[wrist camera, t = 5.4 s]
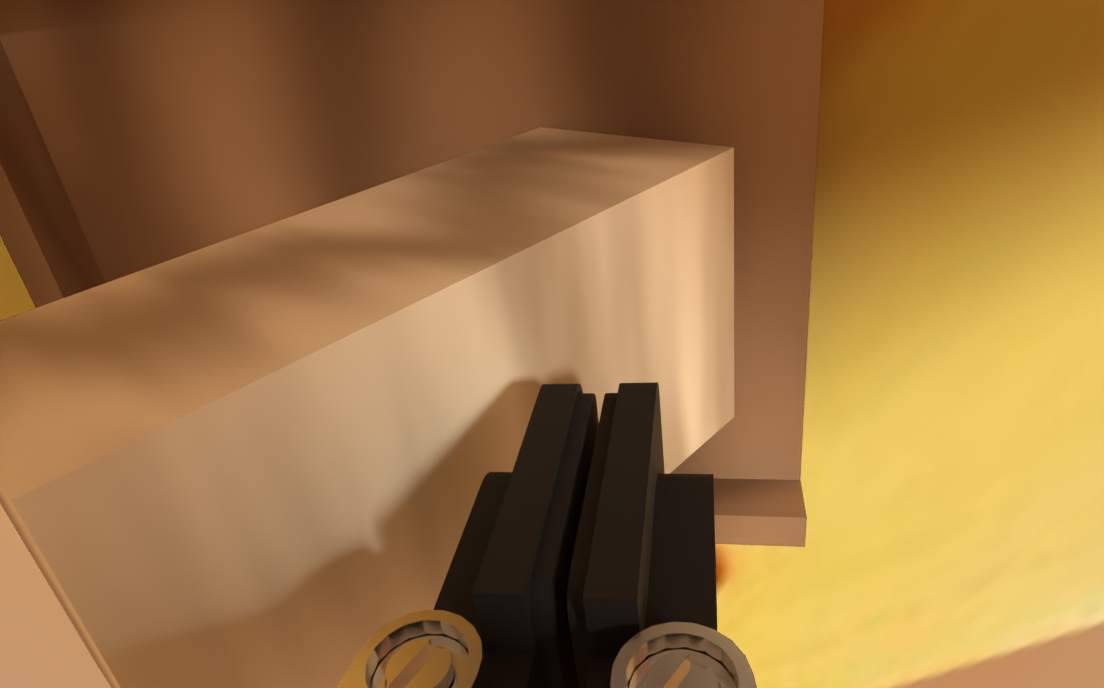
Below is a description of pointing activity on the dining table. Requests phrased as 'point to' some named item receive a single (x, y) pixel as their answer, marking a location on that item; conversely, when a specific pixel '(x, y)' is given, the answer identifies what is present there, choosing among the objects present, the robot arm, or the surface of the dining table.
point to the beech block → (350, 396)
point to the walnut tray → (417, 147)
